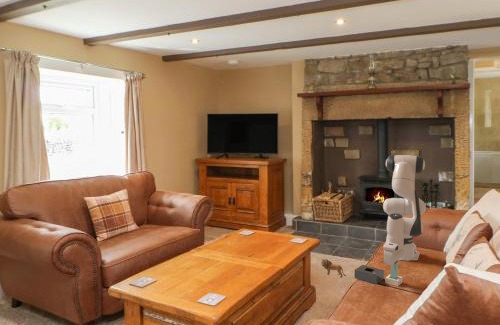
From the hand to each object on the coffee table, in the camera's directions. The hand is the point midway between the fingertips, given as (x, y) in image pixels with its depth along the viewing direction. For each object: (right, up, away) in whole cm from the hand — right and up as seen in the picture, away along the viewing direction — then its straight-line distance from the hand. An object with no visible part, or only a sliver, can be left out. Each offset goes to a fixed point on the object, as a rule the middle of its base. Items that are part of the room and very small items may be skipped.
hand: (394, 267), depth 216 cm
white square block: (0, -8, 0) cm, 8 cm away
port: (-12, -8, +7) cm, 16 cm away
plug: (0, -5, +1) cm, 5 cm away
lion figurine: (-32, -8, +12) cm, 35 cm away
